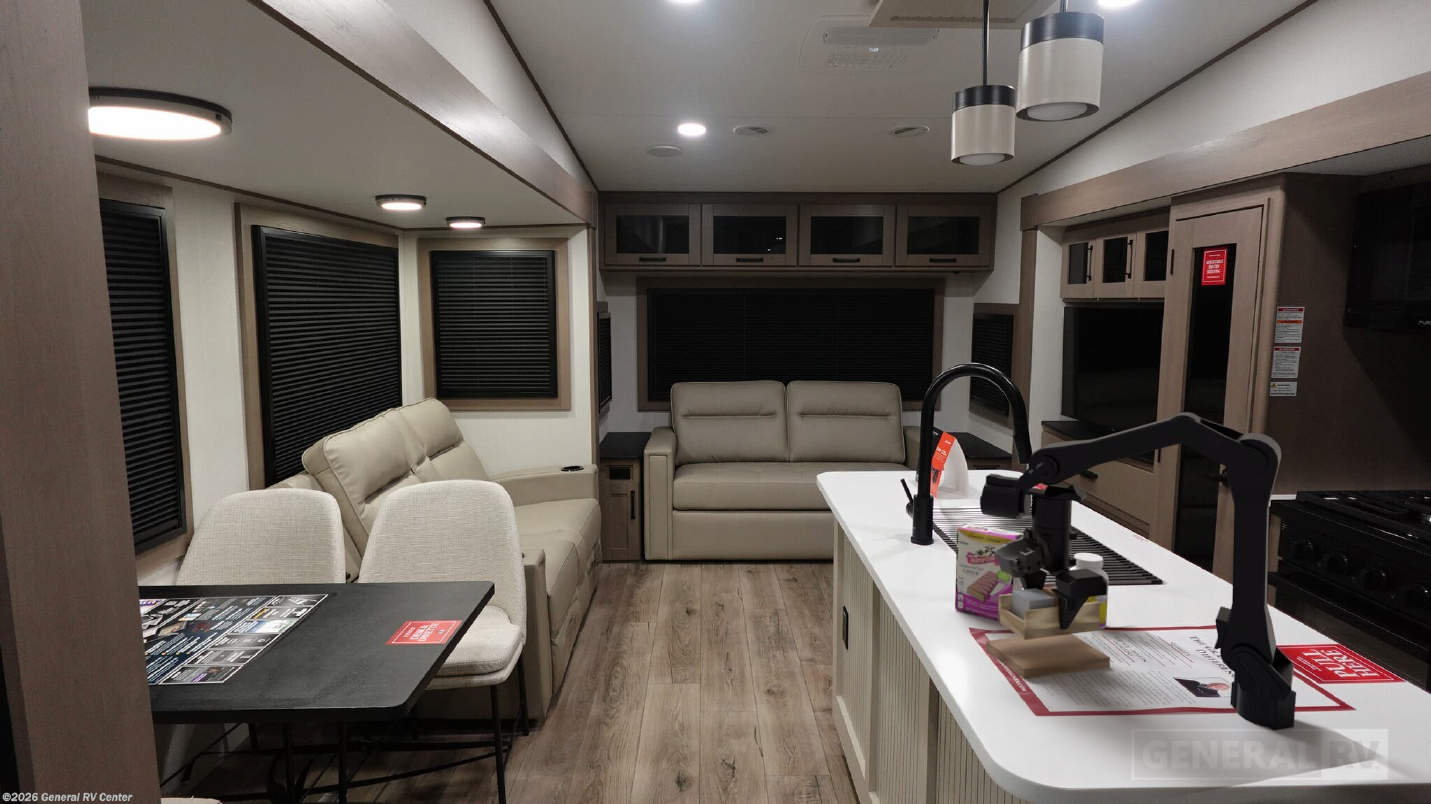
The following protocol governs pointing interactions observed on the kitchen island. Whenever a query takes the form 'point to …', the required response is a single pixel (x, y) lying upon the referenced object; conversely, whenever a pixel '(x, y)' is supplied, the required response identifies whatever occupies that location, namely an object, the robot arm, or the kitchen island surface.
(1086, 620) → the wooden tray
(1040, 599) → the block
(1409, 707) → the kitchen island surface
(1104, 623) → the supplement bottle
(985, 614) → the candy bar box
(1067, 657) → the plate
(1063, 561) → the robot arm
